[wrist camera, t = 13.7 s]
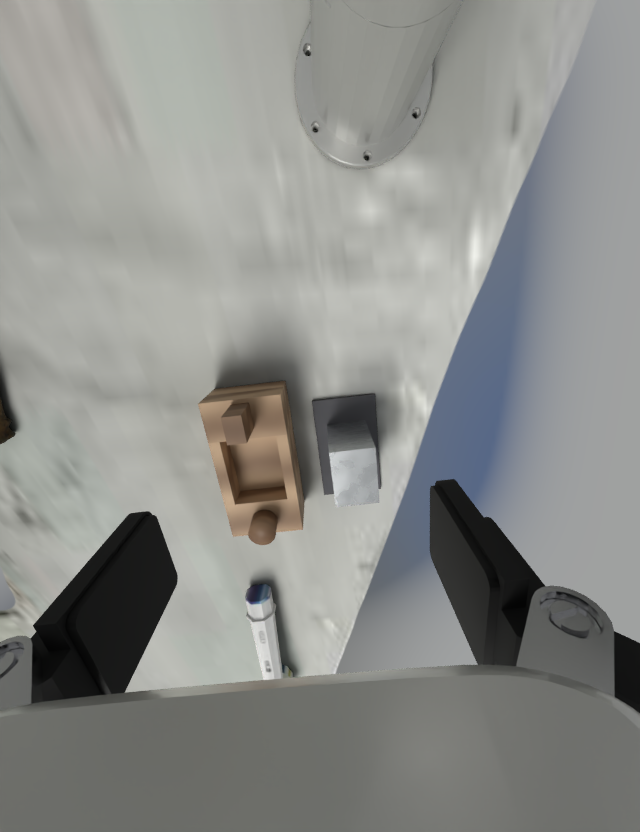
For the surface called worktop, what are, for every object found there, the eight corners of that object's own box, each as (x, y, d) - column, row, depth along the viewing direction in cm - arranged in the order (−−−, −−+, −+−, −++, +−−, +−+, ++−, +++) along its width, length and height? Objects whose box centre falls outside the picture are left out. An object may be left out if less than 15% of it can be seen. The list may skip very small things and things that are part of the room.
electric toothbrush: (272, 601, 48) (293, 729, 54) (278, 570, 55) (296, 687, 60) (237, 604, 48) (262, 732, 54) (247, 573, 55) (268, 689, 60)
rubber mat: (312, 400, 41) (312, 401, 41) (374, 393, 41) (375, 394, 40) (324, 493, 46) (324, 494, 46) (380, 487, 46) (380, 488, 45)
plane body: (214, 388, 40) (183, 416, 31) (285, 380, 40) (275, 406, 31) (243, 507, 47) (224, 560, 37) (304, 501, 46) (301, 553, 37)
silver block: (326, 424, 42) (328, 452, 34) (364, 420, 42) (375, 447, 34) (332, 471, 44) (335, 507, 37) (368, 467, 44) (379, 502, 37)
